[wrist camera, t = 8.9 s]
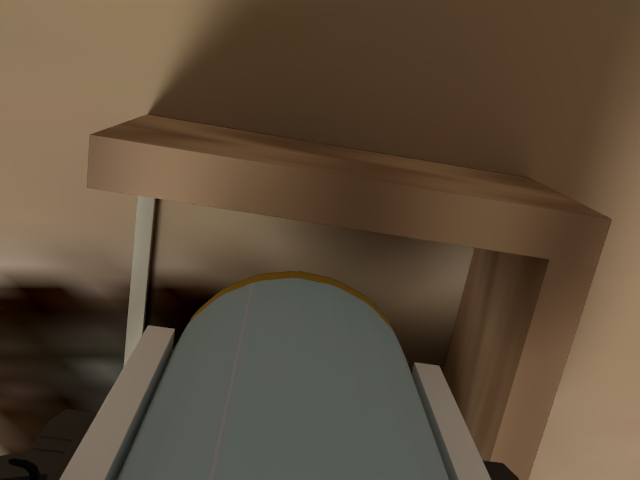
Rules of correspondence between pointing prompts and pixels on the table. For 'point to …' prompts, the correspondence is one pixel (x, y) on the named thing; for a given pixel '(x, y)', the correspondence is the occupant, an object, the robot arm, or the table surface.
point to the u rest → (401, 220)
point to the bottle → (286, 392)
